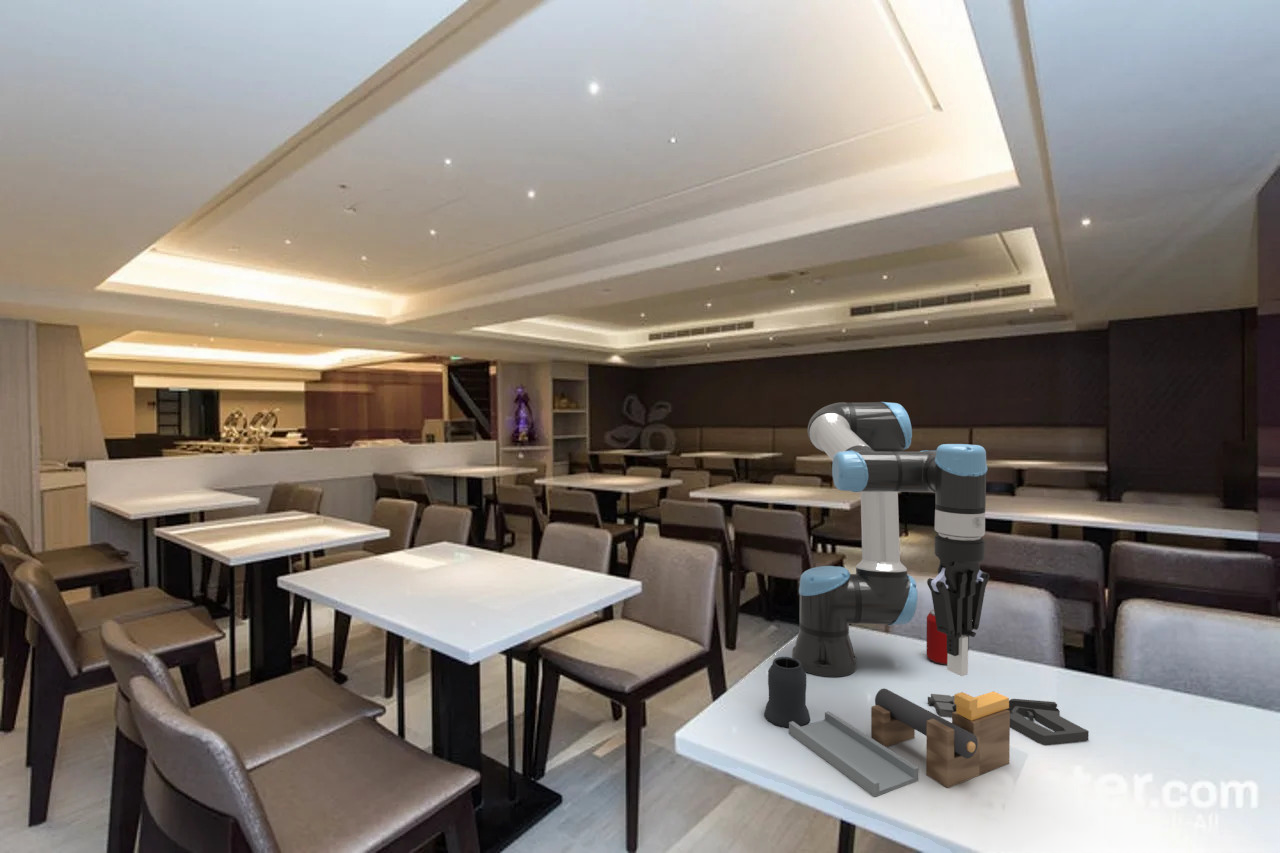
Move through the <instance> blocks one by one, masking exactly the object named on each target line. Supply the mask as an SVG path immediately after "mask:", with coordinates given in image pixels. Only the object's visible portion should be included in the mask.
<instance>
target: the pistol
mask: <svg viewBox="0 0 1280 853" xmlns="http://www.w3.org/2000/svg"><path fill="white" fill-rule="evenodd" d="M954 702H955V695H952V696H951V695H950V694H949V695H947V694H939V693H931V694H930V696H927V704H928V706H934V708H935V712H936V713H937V714H938V716H939V717H941V718H943V717H944V718H952V712H955V711H956V704H955V703H954ZM1057 707H1058V703H1057V702H1055V701H1049V700H1046V701H1045V700H1037V699H1036V700H1035V699H1034V700H1033V699H1022V698H1021V699H1020V698H1011V699H1009V708H1008V709H1007V710H1009V711H1010V729H1012V730H1014V731H1015V732H1018V733H1019V734H1021V735H1023V736H1025V737H1026V738H1028V739H1029V740H1032V741H1034V742H1036V743H1037V744H1040V745H1042V746H1054V745H1055V746H1056V745H1065V744H1074V743H1084V742H1085V743H1086V742H1087V741H1089V736H1090V735H1089V732H1090V731H1089V730H1087V729H1086V728H1084V727H1081V726H1079V725H1077V724H1075V722H1072V721H1070V720H1068V719H1067V718H1065V717H1063V716H1061V714H1060V710H1059V709H1058V708H1057ZM937 714H936V715H937ZM1034 721H1035V722H1034ZM1036 722H1037V723H1036ZM1043 726H1044V727H1043Z"/></svg>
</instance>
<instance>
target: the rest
mask: <svg viewBox="0 0 1280 853" xmlns="http://www.w3.org/2000/svg"><path fill="white" fill-rule="evenodd" d="M870 710H871V711H870V712H871V713H870V717H871V719H870V720H871V721H870V728H871V729H870V730H871V733H870V738H872V739H874V740H875V741H877V742H878V743H880V744H882V745H883V746H885V747H886V748H888V747H890V746H894V745H896V744H899V743H903V742H906V741H909V740H911V739H915V731H916V730H915V729H913V728H912V727H910V726H908V725H906V724H904V723H903V722H901V721H899V720H897V719H896V718H894V717H892V716H890V712H889V711H888V710H886V709H884V708H882V707H880V706H879V705H872V706H871V708H870Z"/></svg>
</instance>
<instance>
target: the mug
mask: <svg viewBox="0 0 1280 853" xmlns="http://www.w3.org/2000/svg"><path fill="white" fill-rule="evenodd" d="M767 686H768V687H767V688H768V701H767V703H766V704H765V705H766V706H765V708H764V714H763V715H764V719H765V720H767V722H768V723H770V724H771V725H773V726H775V727H778V728H782V729H787V730H789V722H792V721H793V722H795V723H796V724H798V725H799V726H805V725H808V724H811V717H810V712H809V709H808V707H807V704H806V703H807V702H806V701H807V700H806V699H807V694H806V693H807V672H805V671H804V670H803V668H802V664H801V662H800V661H799V660H797V659H795V658H792V656H791V657H790V656H778V657H775V658H774V659H773V660H772V663H771V665H770V667H769V668H768V671H767Z"/></svg>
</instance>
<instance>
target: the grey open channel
mask: <svg viewBox="0 0 1280 853" xmlns="http://www.w3.org/2000/svg"><path fill="white" fill-rule="evenodd" d="M788 734H789V735H791V736H792V737H793V738H794V739H796V740H798V741H799V742H800V743H802V745H804V746H806V747H807V748H808V749H809V750H811V751H813V752H814V753H815V754H816V755H818V756H819V757H820V758H822V759H823V760H825V761H826V762H827V763H828V764H829V765H831V766H833V767H834V768H835V769H836V770H838V771H839V772H841V773H842V774H843V775H845V776H846V777H848V778H849V779H850V780H851V781H853V782H854V783H855V784H857V785H858V786H859V787H861V788H863V789H864V790H865V791H866V792H868V793H869V794H870V795H872V796H873V797H878V796H880V795H884V794H886V793H888V792H891V791H894V790H897V789H899V788H902V787H904V786H907V785H909V784H912V783H915V782H918V781H919V767H918V766H916V765H915V764H914V763H911V762H910V761H909V760H907V759H905V758H904V757H902V756H900V755H899V754H898V753H896V752H894V751H892V750H891V749H890V748H888V747H885V746H883V745H882V744H880V743H878V742H877V741H875V740H874V739H872V738H871V736H869V735H867V734H865V733H864V732H862V731H861V730H859V729H858V728H856V727H854V726H853V725H852V724H850V723H848V722H846V721H845V720H843V719H842V718H840V717H839V716H837V715H836V714H834V713H833V712H831V711H829V710H828V711H825V712H824V719H823V720H819V721H816V722H813V723H809V724H808V725H805V726H799V725H798V724H796V723H795V722H793V721H792V722H789V729H788Z"/></svg>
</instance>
